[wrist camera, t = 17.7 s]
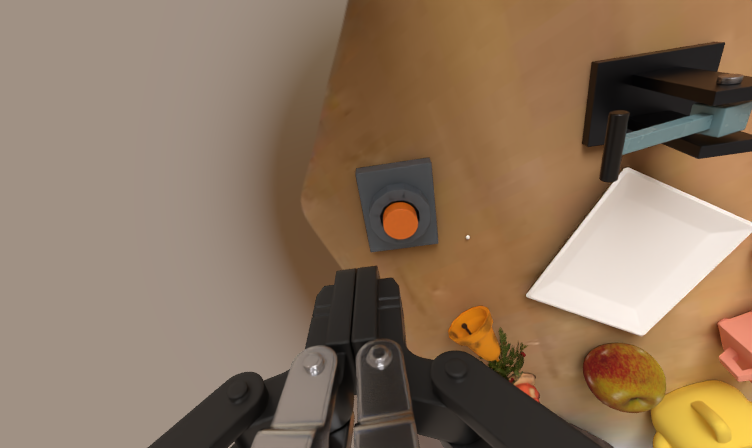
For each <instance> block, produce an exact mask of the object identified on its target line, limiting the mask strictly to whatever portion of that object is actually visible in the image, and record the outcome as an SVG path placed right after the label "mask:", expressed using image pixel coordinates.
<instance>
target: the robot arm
mask: <svg viewBox="0 0 752 448" xmlns="http://www.w3.org/2000/svg"><path fill="white" fill-rule="evenodd" d="M312 316H313V318H312V320H311V324H310V328H309V333H308V338H307V342H306V347H305V350H304V351H302V352H301V353H300V354H299V355H297V357H296V358H295V359H294V361H293V362H292V365H291V368H290V369H289V370H288V371H286V372H284V373H282V374H279V375H277V376H274V377H272V378H269V379H267V380H264V381H263V379H262V377H261V376H260V375H259V374H257V373H254V372H244V373H240V374H237V375H235V376H233V377H231V378H230V379H229V380H227V381H226V382H225V383H224V384H222V385H221V386H220V387H219V388H218V389H216V390H215V391H214V392H213V393H212V394H211V395H209V396H208V397H207V398H206V399H205V400H203V401H202V402H201V403H200V404H199V405H198V406H196V407H195V408H194V409H193V410H192V411H190V413H188V414H187V415H186V416H185V417H184V418H182V419H181V420H180V421H179V422H178V423H176V424H175V425H174V426H173V427H172V428H171V429H169V430H168V431H167V432H166V433H165V434H163V435H162V436H161V437H160V438H159V439H157V440H156V441H155V442H154V443H153V444H152V445H150V446H149V447H148V448H228V447H229V446H230V445H231V444H232V443H233V442H235V444H234V445H233V446H232V447H231V448H351V443H352V434H353V428H354V448H420V446H419V440H418V435H417V434H419V435H423V436H427V437H431V438H434V439H438V440H440V442H441V444H442V445H443V447H444V448H603V447H601V446H600V445H599V444H597V443H596V442H594V441H593V440H591V439H590V438H589V437H587V436H586V435H584V434H583V433H582V432H580V431H579V430H577V429H576V428H574V427H573V426H572V425H570V424H569V423H567V422H566V421H565V420H563V419H562V418H560V417H559V416H557V415H556V414H555V413H553V412H552V411H550V410H549V409H547V408H546V407H545V406H543V405H542V404H540V403H539V402H538V401H536V400H535V399H533V398H532V397H530V396H529V395H528V394H526V393H525V392H523V391H522V390H521V389H519V388H518V387H516V386H515V385H513V384H512V383H511V382H509V381H508V380H506V379H505V378H504V377H502V376H501V375H499V374H498V373H496V372H495V371H494V370H492V369H491V368H489V367H488V366H486V365H485V364H484V363H482V362H481V361H479V360H478V359H477V358H475V357H474V356H472V355H470V354H468V353H466V352H462V351H448V352H444V353H442V354H440V355H439V356H437V357H436V358H435V359H434V360H431V359H426V358H421V357H419V356H416V355H414V354H413V353H412V352H410V351H409V350H408V349H407V346H406V335H405V324H404V315H403V308H402V302H401V296H400V290H399V285H398V284H397V283H396V282H395V280H394V279H393V278H385V279H380V276H379V271H378V267H377V266H370V267H362V268H357V269H356V268H355V269H347V270H340V271H337V272H336V277H335V284H334V285H329V286H324V287H323V288H322V290H321V291H320V292H319V294H318V295H317V297H316V301H315V306H314V311H313V315H312ZM354 395H357V413H358V414H357V415H358V421H357V423H356V424H355V426H354V419H355V418H354V412H353V406H354Z"/></svg>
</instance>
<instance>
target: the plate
mask: <svg viewBox="0 0 752 448" xmlns="http://www.w3.org/2000/svg"><path fill="white" fill-rule="evenodd" d="M751 233H752V222H750V221H748V220H745V219H743V218H741V217H739V216H736V215H734V214H732V213H730V212H727V211H725V210H723V209H721V208H718V207H716V206H714V205H712V204H709V203H707V202H705V201H703V200H700V199H698V198H696V197H694V196H691V195H689V194H687V193H685V192H682V191H680V190H678V189H676V188H673V187H671V186H669V185H667V184H664V183H662V182H660V181H658V180H655V179H653V178H651V177H649V176H646V175H644V174H642V173H640V172H638V171H635V170H633V169H631V168H629V167H627V168H624V169H623V170H622V171H621V172H620V173H619V177H618V180H617V181H615V182H612V184H611V185H610V186H609V187H608V189H607V190H606V191H605V193H604V194H603V195H602V196H601V198H600V199H599V200H598V202H597V203H596V204H595V205H594V207H593V208H592V209H591V211H590V212H589V213H588V214H587V216H586V217H585V218H584V220H583V221H582V222H581V224H580V225H579V226H578V227H577V229H576V230H575V231H574V233H573V234H572V235H571V236H570V238H569V239H568V240H567V242H566V243H565V244H564V245H563V247H562V248H561V249H560V251H559V252H558V253H557V254H556V256H555V257H554V258H553V260H552V261H551V262H550V264H549V265H548V266H547V267H546V269H545V270H544V271H543V273H542V274H541V275H540V276H539V278H538V279H537V280H536V282H535V283H534V284H533V285H532V287H531V288H530V289H529V291H528V292H527V294H526V297H528V298H531V299H533V300H536V301H539V302H542V303H545V304H548V305H551V306H554V307H557V308H560V309H563V310H566V311H568V312H571V313H574V314H577V315H580V316H583V317H586V318H589V319H592V320H595V321H598V322H601V323H603V324H606V325H609V326H612V327H615V328H618V329H621V330H624V331H627V332H630V333H633V334H636V335H638V336H643V335H645V334H646V333H647V332H648V331H649V330H650V329H651V328H652V327H653V326H654V325H655V324H656V323H657V322H658V321H659V320H660V319H661V318H662V317H663V316H665V315H666V314H667V313H668V312H669V311H670V310H671V309H672V308H673V307H674V306H675V305H676V304H677V303H678V302H679V301H680V300H681V299H682V298H683V297H684V296H686V295H687V294H688V293H689V292H690V291H691V290H692V289H693V288H694V287H695V286H696V285H697V284H698V283H699V282H700V281H701V280H702V279H703V278H704V277H705V276H707V275H708V274H709V273H710V272H711V271H712V270H713V269H714V268H715V267H716V266H717V265H718V264H719V263H720V262H721V261H722V260H723V259H724V258H725V257H726V256H728V255H729V254H730V253H731V252H732V251H733V250H734V249H735V248H736V247H737V246H738V245H739V244H740V243H741V242H742V241H743V240H744V239H745V238H746V237H747V236H749V235H750V234H751Z"/></svg>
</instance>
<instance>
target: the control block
mask: <svg viewBox="0 0 752 448" xmlns="http://www.w3.org/2000/svg"><path fill="white" fill-rule="evenodd" d="M356 180H357V185H358V190H359V195H360V200H361V205H362V210H363V215H364V220H365V225H366V231H367V236H368V241H369V246H370V251H371V252H377V251H385V250H392V249H400V248H408V247H415V246H423V245H431V244H438V233H437V221H436V210H435V198H434V187H433V175H432V164H431V161H430V158H423V159H416V160H409V161H402V162H396V163H389V164H382V165H376V166H369V167H362V168H356ZM396 202H405V203H408V204H410V205H411V206H412V207H413V208H414V209H415V211H416V214H417V219H418V227H417V230H416V232H415V233H414V234H413V235H412V236H410V237H408V238H406V239H395V238H392V237H390V236H389V235H388V234H387V233H386V232H385V230H384V227H383V214H384V211H385V209H386V208H387V207H388V206H389V205H391V204H393V203H396Z"/></svg>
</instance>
